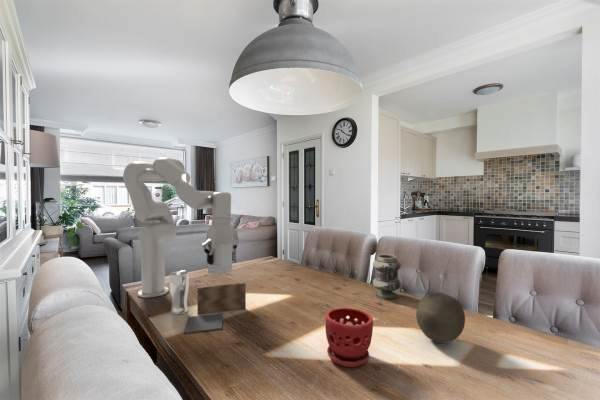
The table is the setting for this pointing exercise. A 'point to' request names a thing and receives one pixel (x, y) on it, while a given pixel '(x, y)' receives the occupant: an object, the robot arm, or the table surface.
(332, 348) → the plant pot
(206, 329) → the mat
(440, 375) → the table surface
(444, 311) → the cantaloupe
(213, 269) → the supplement box
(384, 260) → the apothecary jar
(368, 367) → the table surface
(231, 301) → the wood grain panel
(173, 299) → the metal tumbler
